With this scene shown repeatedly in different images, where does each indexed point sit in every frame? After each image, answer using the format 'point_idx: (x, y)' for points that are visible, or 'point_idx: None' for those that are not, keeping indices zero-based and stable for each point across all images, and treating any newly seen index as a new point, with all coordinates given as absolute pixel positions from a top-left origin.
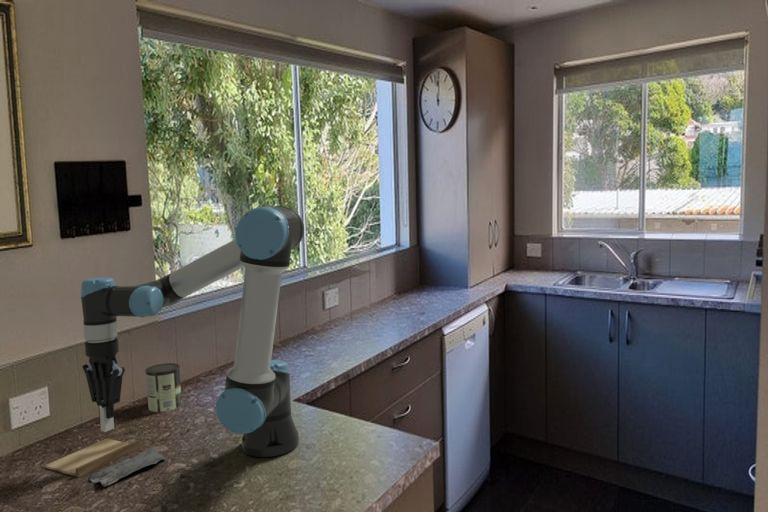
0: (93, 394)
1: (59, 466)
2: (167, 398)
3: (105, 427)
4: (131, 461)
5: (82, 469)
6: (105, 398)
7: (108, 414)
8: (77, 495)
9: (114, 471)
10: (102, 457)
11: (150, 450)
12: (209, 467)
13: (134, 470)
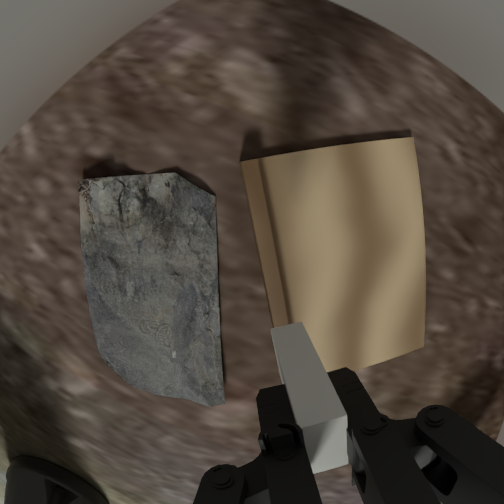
0: (450, 454)
1: (367, 157)
2: None
3: (274, 344)
4: (177, 323)
5: (243, 178)
6: (284, 497)
7: (268, 407)
8: (110, 107)
9: (148, 252)
10: (266, 269)
11: (198, 391)
12: (27, 401)
13: (91, 291)
